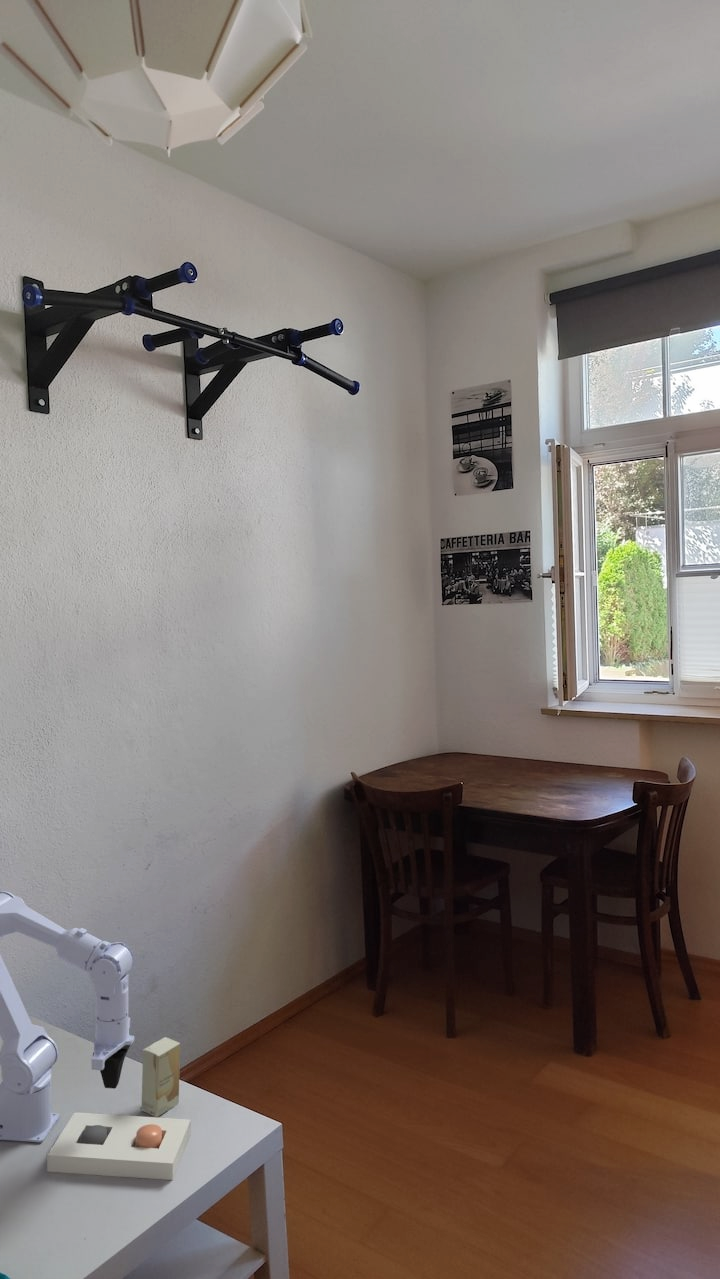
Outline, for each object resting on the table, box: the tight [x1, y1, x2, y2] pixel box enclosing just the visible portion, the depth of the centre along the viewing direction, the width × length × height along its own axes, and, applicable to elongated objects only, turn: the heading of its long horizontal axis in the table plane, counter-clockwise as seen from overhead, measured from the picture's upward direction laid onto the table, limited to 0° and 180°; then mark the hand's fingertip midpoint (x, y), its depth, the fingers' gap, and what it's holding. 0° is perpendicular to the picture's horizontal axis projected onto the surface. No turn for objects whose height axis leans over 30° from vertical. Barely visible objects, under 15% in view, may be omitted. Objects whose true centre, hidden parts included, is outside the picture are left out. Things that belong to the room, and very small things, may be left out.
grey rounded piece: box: [81, 1125, 107, 1145], centre depth 153 cm, size 4×4×3 cm
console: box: [46, 1111, 192, 1181], centre depth 153 cm, size 22×12×3 cm, turn 87°
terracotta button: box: [136, 1124, 162, 1149], centre depth 153 cm, size 4×4×3 cm
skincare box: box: [141, 1036, 181, 1118], centre depth 167 cm, size 6×4×12 cm
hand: (111, 1086), depth 156 cm, fingers closed
